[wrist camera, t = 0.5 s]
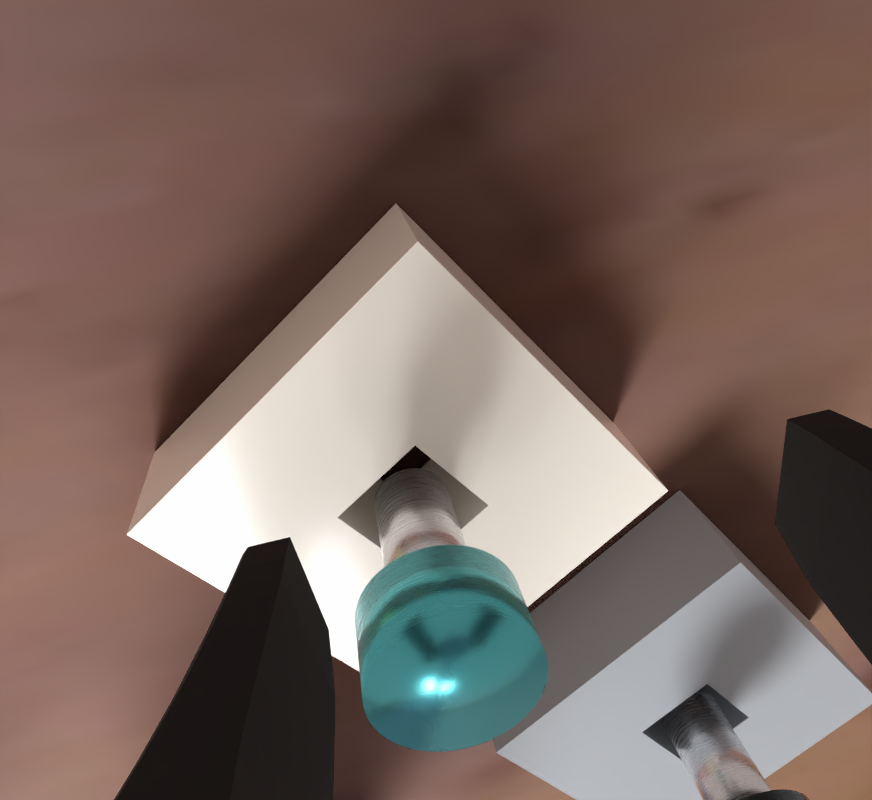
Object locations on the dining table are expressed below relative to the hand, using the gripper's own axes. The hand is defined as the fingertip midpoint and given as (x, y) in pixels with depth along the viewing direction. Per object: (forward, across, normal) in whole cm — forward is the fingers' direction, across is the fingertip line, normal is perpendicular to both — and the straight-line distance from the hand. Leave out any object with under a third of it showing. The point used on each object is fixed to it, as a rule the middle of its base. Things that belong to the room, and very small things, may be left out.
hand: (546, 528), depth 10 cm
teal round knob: (+7, +2, +5) cm, 9 cm away
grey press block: (+10, -5, +17) cm, 20 cm away
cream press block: (+10, +2, +6) cm, 12 cm away
